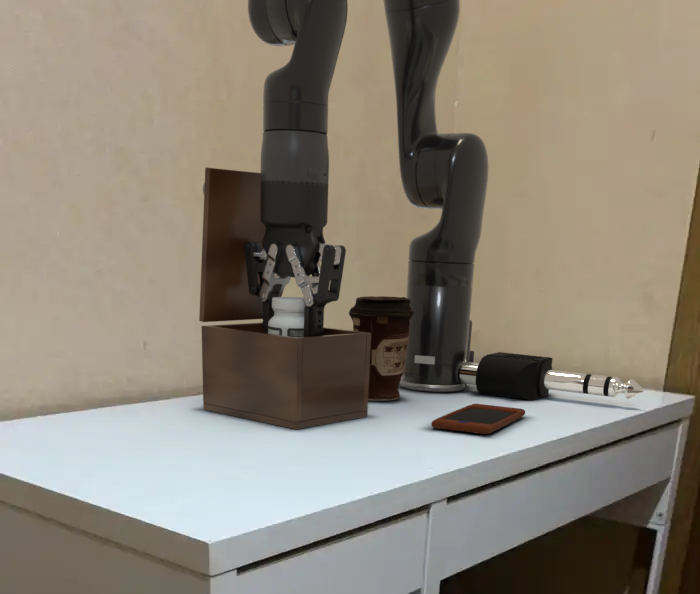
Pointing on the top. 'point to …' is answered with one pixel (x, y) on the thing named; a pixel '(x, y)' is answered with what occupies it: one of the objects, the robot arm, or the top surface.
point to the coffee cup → (384, 341)
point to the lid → (229, 244)
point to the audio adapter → (537, 378)
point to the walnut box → (285, 375)
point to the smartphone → (478, 418)
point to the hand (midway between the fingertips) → (292, 337)
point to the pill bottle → (287, 316)
